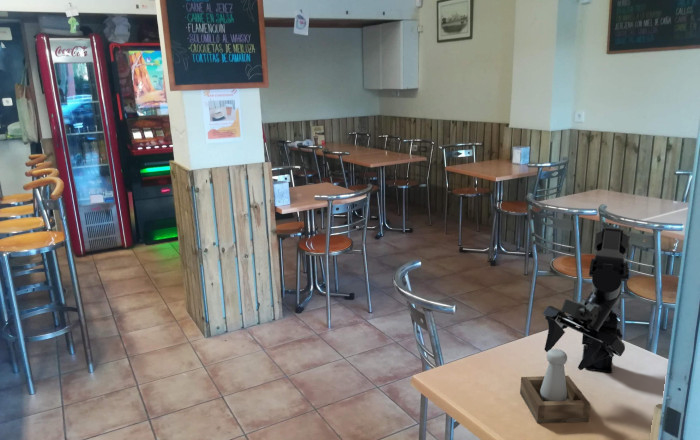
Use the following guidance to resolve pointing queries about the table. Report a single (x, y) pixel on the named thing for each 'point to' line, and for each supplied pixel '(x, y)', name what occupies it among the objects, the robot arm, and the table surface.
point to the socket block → (554, 402)
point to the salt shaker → (555, 377)
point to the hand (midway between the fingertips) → (561, 359)
